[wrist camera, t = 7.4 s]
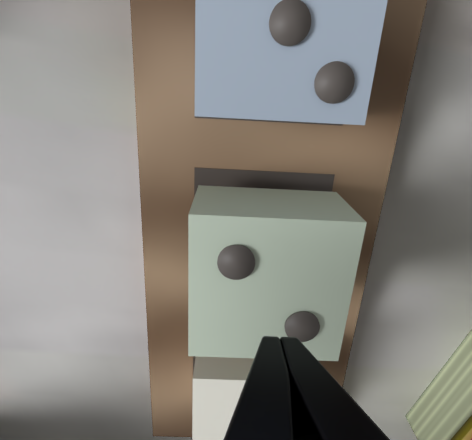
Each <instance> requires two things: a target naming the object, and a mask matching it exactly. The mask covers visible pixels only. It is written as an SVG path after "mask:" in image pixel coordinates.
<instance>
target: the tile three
mask: <svg viewBox="0 0 472 440" xmlns="http://www.w3.org/2000/svg"><path fill="white" fill-rule="evenodd" d="M387 1H388V0H195V116H199V117H218V118H237V119H255V120H274V121H293V122H312V123H331V124H350V125H365V121H366V116H367V110H368V105H369V100H370V94H371V89H372V83H373V78H374V72H375V67H376V61H377V56H378V50H379V45H380V39H381V34H382V28H383V23H384V18H385V12H386V7H387Z"/></svg>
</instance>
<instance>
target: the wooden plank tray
mask: <svg viewBox="0 0 472 440" xmlns="http://www.w3.org/2000/svg"><path fill="white" fill-rule="evenodd" d="M426 3H427V0H388V1H387V7H386V12H385V18H384V23H383V28H382V34H381V39H380V45H379V50H378V56H377V61H376V67H375V72H374V78H373V83H372V89H371V94H370V100H369V105H368V110H367V116H366V121H365V125H350V124H331V123H312V122H293V121H274V120H255V119H237V118H218V117H199V116H195V0H130V6H131V25H132V44H133V63H134V82H135V102H136V121H137V140H138V159H139V178H140V197H141V216H142V235H143V254H144V273H145V293H146V312H147V331H148V350H149V369H150V388H151V407H152V426H153V436H167V437H192V403H193V373H194V365H195V358H196V356H188V214H189V211H190V208H191V206H192V203H193V200H194V197H195V194H196V191H197V188H198V185H202V186H223V187H244V188H265V189H286V190H307V191H328V192H337V193H338V194H339V195H340V196H341V197H342V198H343V199H344V200H345V201H346V202H347V203H348V204H349V205H350V206H351V207H352V208H353V209H354V210H355V211H356V212H357V213H358V214H359V215H360V216H361V217H362V218H363V219H364V220H365V221H366V222H367V224H366V228H365V233H364V238H363V243H362V248H361V253H360V258H359V263H358V267H357V272H356V277H355V282H354V287H353V292H352V297H351V301H350V306H349V311H348V316H347V321H346V326H345V331H344V335H343V340H342V345H341V350H340V355H339V360H338V361H319V362H320V363H321V364H322V366H323V367H324V368H325V369H326V370H327V371H328V372H329V373H330V374H331V375H332V377H333V378H334V379H335V380H336V381H337V382H338V383H339V384H340V385H341V386H342V387H343V382H344V378H345V373H346V369H347V364H348V359H349V355H350V350H351V346H352V341H353V337H354V332H355V328H356V323H357V318H358V314H359V309H360V305H361V300H362V296H363V291H364V286H365V282H366V277H367V273H368V268H369V264H370V259H371V255H372V250H373V245H374V241H375V236H376V232H377V227H378V223H379V218H380V213H381V209H382V204H383V200H384V195H385V191H386V186H387V181H388V177H389V172H390V168H391V163H392V159H393V154H394V150H395V145H396V140H397V136H398V131H399V127H400V122H401V118H402V113H403V108H404V104H405V99H406V95H407V90H408V86H409V81H410V77H411V72H412V67H413V63H414V58H415V54H416V49H417V45H418V40H419V35H420V31H421V26H422V22H423V17H424V13H425V8H426Z"/></svg>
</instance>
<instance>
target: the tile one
mask: <svg viewBox="0 0 472 440" xmlns="http://www.w3.org/2000/svg"><path fill="white" fill-rule="evenodd" d="M253 360H254V358H228V357H198V356H196V358H195V365H194V373H193V403H192V440H223V439H224V437H225V434H226V432H227V429H228V426H229V424H230V421H231V418H232V416H233V413H234V410H235V408H236V405H237V402H238V400H239V397H240V394H241V392H242V389H243V387H244V384H245V381H246V379H247V376H248V373H249V371H250V368H251V365H252V363H253Z"/></svg>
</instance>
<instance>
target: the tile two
mask: <svg viewBox="0 0 472 440" xmlns="http://www.w3.org/2000/svg"><path fill="white" fill-rule="evenodd" d="M366 224H367V222H366V221H365V220H364V219H363V218H362V217H361V216H360V215H359V214H358V213H357V212H356V211H355V210H354V209H353V208H352V207H351V206H350V205H349V204H348V203H347V202H346V201H345V200H344V199H343V198H342V197H341V196H340V195H339V194H338V193H337V192H328V191H307V190H286V189H265V188H244V187H223V186H202V185H198V188H197V191H196V194H195V197H194V200H193V203H192V206H191V208H190V211H189V214H188V356H198V357H228V358H254V357H255V355H256V352H257V350H258V347H259V344H260V342H261V339H262V337H263V336H277V337H279V339H280V338H281V337H296V338H298V339H299V340H300V341H301V342H302V343H303V345H304V346H305V347H306V348H307V349H308V350H309V351H310V352H311V353H312V354H313V356H314V357H315V358H316V359H317V360H318V361H338V360H339V355H340V350H341V345H342V340H343V335H344V331H345V326H346V321H347V316H348V311H349V306H350V301H351V297H352V292H353V287H354V282H355V277H356V272H357V267H358V263H359V258H360V253H361V248H362V243H363V238H364V233H365V228H366Z"/></svg>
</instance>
